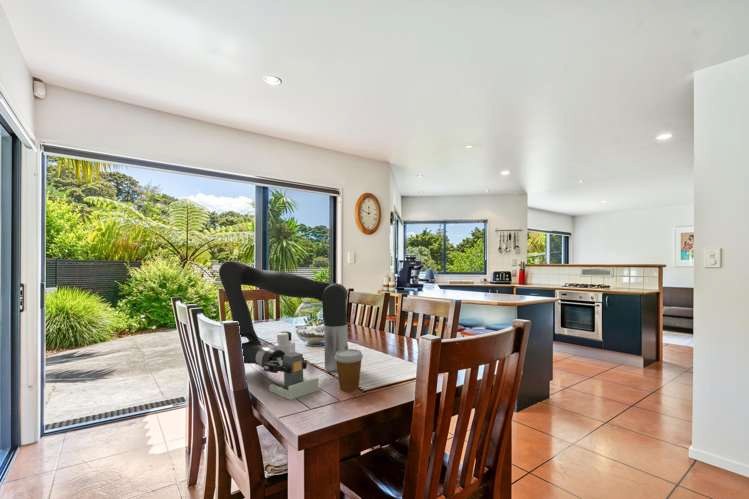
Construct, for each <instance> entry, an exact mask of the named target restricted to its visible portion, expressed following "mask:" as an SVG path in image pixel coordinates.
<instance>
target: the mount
mask: <svg viewBox="0 0 749 499" xmlns="http://www.w3.org/2000/svg"><path fill="white" fill-rule="evenodd" d="M319 389H320V388H319V377H313V378H309V379H306V378H304V377H303V382H300V383H297V384H294V385H291V386H288V390H286V389H284V388H283V387H281V386H278V385H276V384H274V383H271V384H269V391H270V392H271V393H273V392H274V394H276V395H278V396H280V397H283V398H284V399H287V400H288V401H289V400H290V401H293V400H295V399H297V398H298V399H299V398H301V397H303V396H307V395H308V394H312V393H314V392H317V391H320V390H319Z"/></svg>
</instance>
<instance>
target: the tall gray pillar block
mask: <svg viewBox="0 0 749 499" xmlns="http://www.w3.org/2000/svg"><path fill="white" fill-rule="evenodd" d="M303 356H304V355H303V353H300V352H297V351H295V352H293V353H289V354H285V355H284V365H288V366H291V373H290V374H288V373H285V372H283V384H284V385H283V387H284V389H286V390H288V386H291V385H294V384H297V383H300V382H303V378H304V369H303V358H304V357H303Z"/></svg>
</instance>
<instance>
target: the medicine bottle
mask: <svg viewBox="0 0 749 499" xmlns="http://www.w3.org/2000/svg"><path fill="white" fill-rule="evenodd" d="M272 348H275V349H278V350H281V351H283V352H284V353H285V354H289V353H293V352H296V341H292V332H290V331H279V332H278V333H277V334H276V343H275V344H274V345H273V347H272Z"/></svg>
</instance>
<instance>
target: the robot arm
mask: <svg viewBox="0 0 749 499" xmlns="http://www.w3.org/2000/svg"><path fill="white" fill-rule="evenodd" d="M218 276H219V278H220V282H221V284H222V287H223V289H224V292H225V295H226V299H227V301H228V305H229V309H230V313H231V318H232V322H233V321H238V322H239V326H240V335H241V337H240V338H245V339H247V340H248V341H245V342H242V349H243V356H244V363H243V364H255V365H257V366H260V367H261V368H262V369H263V371H264V372H269V373H272V374H278V372H279V373H284V372H285V373H288V374H290V373H291V366H288V365H284V355H285V353H284V352H283V351H281V350H278V349H275V348H273V347H271V346H265V345H263V344H262V343H261V341H260V339H259V337H258V334H257V332H256V331H255V328H254V323H253V318H252V315H251V314H252V313H251V311H250V308H249V305H248V304H247V302H246V299H245V296H244V294H243V289H242V286H249V287H255V288H259V289H261V290H263V291H266V292H269V293H271V294H275V295H277V296H282V297H288V298H297V299H299V298H300V299H313V300H314V299H315V300H317V301H321V303H322V304H321V305H322V308H321V309H322V319H323V338H324V339H323V342H324V343H323V344H324V345H323V346H324V348H323V349H324V350H323V351H324V369H325V370H326V371H330V372H338V371H337V363H336V360H335V355H336V352H338V351H340V350H346V349H349V345H348V344H349V343H348V316H347V300H348V297H349V296H348V290H347V288H346V287H345V286H344V285H342V284H341V283H336V282H335V283H334V282H326V281H319V280H315V279H310V278H308V277H305V276H301V275H297V274H294V273H289V272H284V271H279V270H270V269H269V270H267V269H266V270H265V269H261V268H260V269H259V268H256V267H253V266H250V265H247V264H245V263H242V262H239V261H235V260H227V261H224V262H223V263H222V264H221V265H220V266H219V270H218ZM307 366H308V365H307V362H306V361H305V357H303V370H306V369H307V368H308V367H307Z"/></svg>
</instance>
